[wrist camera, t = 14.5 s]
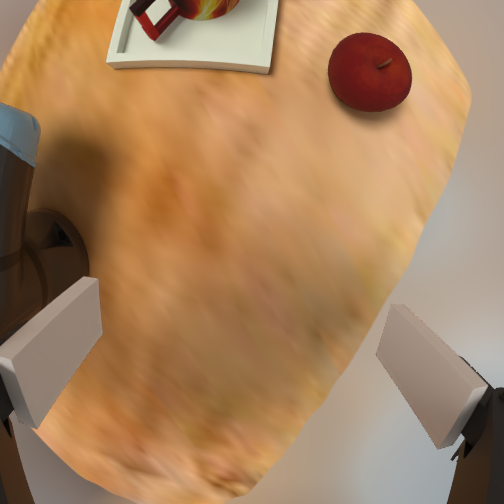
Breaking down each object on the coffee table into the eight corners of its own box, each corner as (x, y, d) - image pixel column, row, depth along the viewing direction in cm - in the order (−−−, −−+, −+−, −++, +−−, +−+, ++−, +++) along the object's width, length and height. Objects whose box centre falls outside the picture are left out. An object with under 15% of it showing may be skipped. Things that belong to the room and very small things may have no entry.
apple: (358, 133, 36) (394, 124, 27) (302, 82, 35) (322, 57, 25) (397, 87, 35) (436, 70, 25) (344, 39, 33) (372, 8, 23)
